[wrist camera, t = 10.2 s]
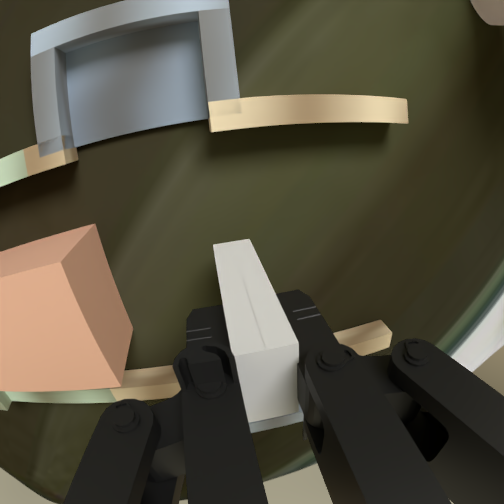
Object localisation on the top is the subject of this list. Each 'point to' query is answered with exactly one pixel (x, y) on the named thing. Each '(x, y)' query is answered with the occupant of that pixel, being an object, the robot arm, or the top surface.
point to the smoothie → (490, 11)
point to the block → (61, 316)
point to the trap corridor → (160, 122)
